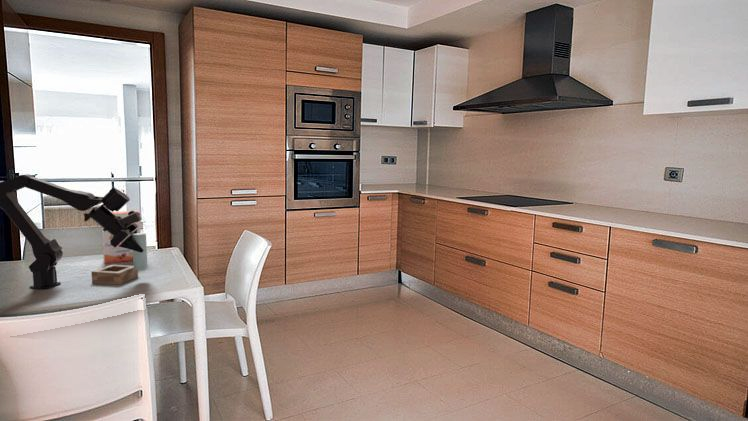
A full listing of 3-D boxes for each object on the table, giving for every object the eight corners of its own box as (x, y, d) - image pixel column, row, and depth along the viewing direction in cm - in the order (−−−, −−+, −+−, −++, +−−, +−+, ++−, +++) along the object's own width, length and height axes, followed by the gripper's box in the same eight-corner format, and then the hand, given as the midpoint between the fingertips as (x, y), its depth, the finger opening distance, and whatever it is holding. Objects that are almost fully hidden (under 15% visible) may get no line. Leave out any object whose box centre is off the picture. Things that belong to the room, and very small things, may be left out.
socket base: (119, 284, 164) (118, 273, 163) (92, 282, 165) (91, 271, 165) (137, 276, 174) (137, 265, 174) (112, 274, 175) (111, 264, 175)
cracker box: (104, 264, 191) (101, 213, 188) (103, 260, 196) (100, 212, 193) (142, 260, 199) (140, 211, 196) (140, 257, 204) (138, 210, 201)
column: (142, 270, 165) (141, 235, 164) (130, 269, 166) (129, 235, 164) (150, 266, 170) (148, 233, 168) (138, 266, 170) (137, 232, 169)
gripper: (119, 207, 155) (156, 239, 159) (130, 201, 172) (164, 229, 177) (93, 231, 153) (132, 262, 158) (108, 222, 171) (142, 250, 176)
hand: (144, 250), depth 167 cm, fingers closed on column, 4 cm apart
